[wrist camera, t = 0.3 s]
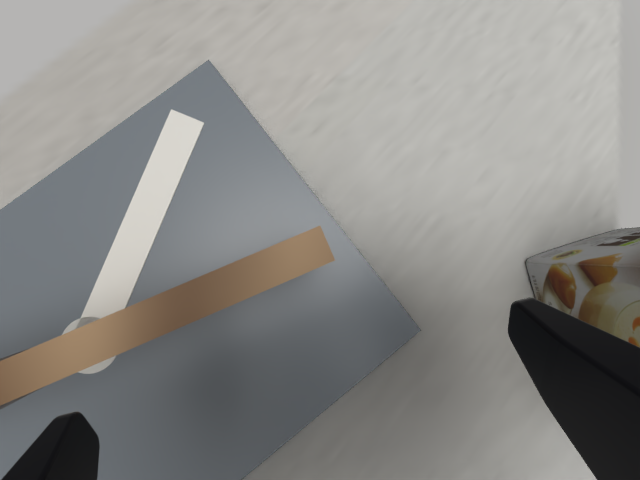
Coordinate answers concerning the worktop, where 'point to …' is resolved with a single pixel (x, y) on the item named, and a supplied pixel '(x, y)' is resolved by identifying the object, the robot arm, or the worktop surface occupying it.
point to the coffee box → (594, 281)
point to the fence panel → (161, 314)
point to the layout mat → (173, 270)
